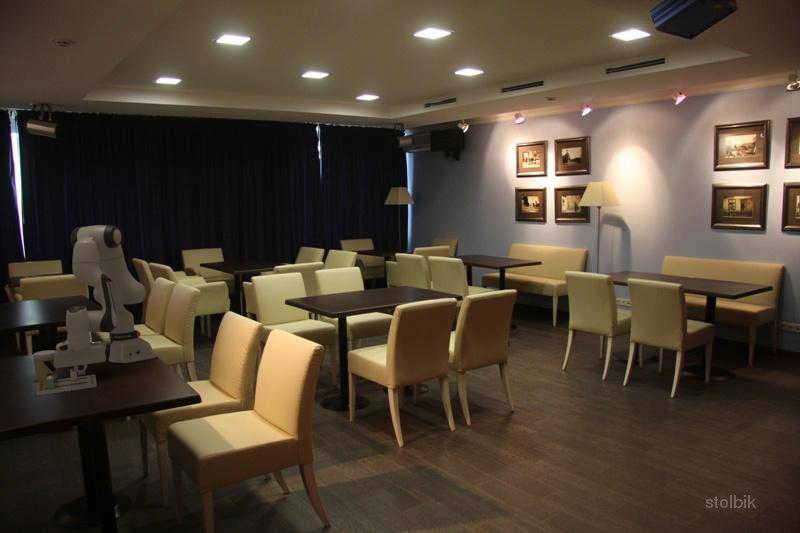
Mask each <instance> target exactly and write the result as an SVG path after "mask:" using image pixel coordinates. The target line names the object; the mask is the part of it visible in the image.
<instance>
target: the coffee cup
mask: <svg viewBox="0 0 800 533" xmlns="http://www.w3.org/2000/svg"><path fill="white" fill-rule="evenodd" d="M56 351H57V350H51V349H50V350H41V351H36V352H34V353H33V354H32V358H33V365H34V369H35V371H34V372H35V375H36V376H35V377H36V381H37V380H38V381H37V382H41V381H43V382H45V381H46V379H47V377H49V376H51V377H52V376H53V378H54V380H57V378H58V368H55V367H54V355H55V352H56Z"/></svg>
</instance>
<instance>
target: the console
mask: <svg viewBox="0 0 800 533" xmlns="http://www.w3.org/2000/svg"><path fill="white" fill-rule="evenodd" d="M97 384H98V383H97V378H96V374H92V373H91V374H90V375H80V376H77V380H75V381H71V377H69V378H67V377H66V378H61V379H60V378H59V379H54V388H52V389H47V381H37V387H36V396H44V395H49V394H51V395H52V394H56V393H57V394H58V393H64V391H65V392H72V391H78V390H84V389H91V388H97V387H98V385H97ZM71 390H72V391H71Z"/></svg>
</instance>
